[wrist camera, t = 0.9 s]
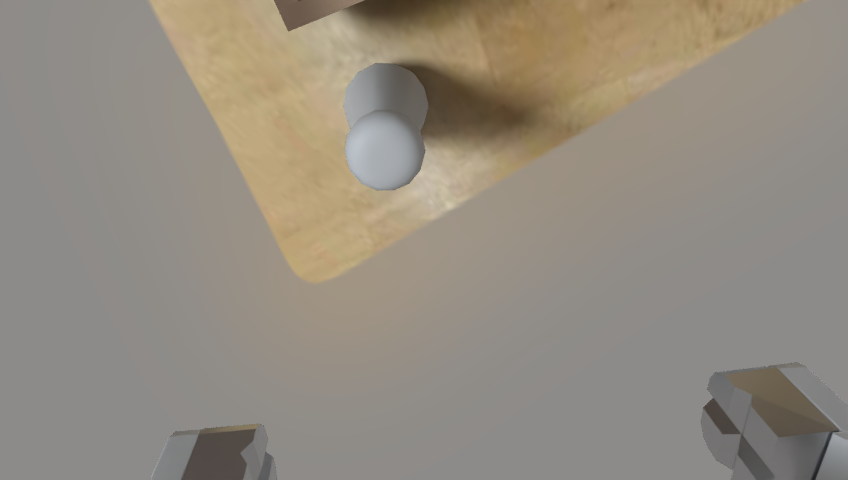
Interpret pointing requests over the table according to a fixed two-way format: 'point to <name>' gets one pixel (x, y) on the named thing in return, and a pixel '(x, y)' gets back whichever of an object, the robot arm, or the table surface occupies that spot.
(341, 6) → the open wooden tray
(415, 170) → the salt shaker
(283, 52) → the table surface
